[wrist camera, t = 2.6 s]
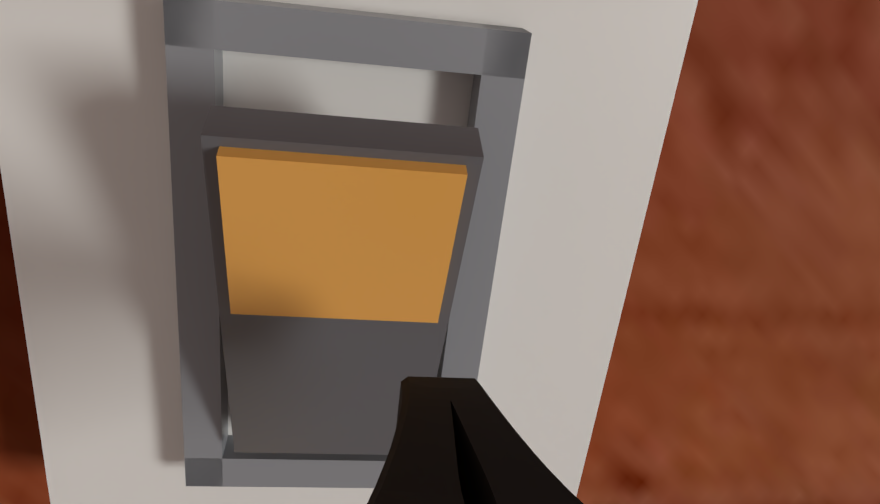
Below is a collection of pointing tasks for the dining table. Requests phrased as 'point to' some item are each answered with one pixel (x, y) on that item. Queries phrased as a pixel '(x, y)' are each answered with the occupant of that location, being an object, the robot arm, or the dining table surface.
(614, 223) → the rocker switch base
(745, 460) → the dining table surface
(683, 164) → the dining table surface
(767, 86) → the dining table surface
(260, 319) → the breaker rocker
